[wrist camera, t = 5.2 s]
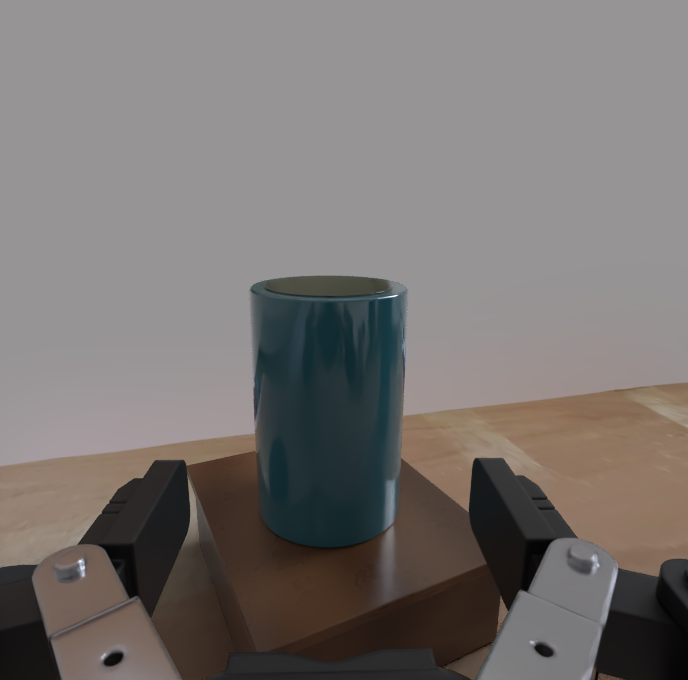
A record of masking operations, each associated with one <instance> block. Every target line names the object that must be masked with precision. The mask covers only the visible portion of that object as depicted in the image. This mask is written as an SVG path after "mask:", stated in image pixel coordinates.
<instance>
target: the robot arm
mask: <svg viewBox="0 0 688 680" xmlns="http://www.w3.org/2000/svg"><path fill="white" fill-rule="evenodd" d="M469 518H470V525H471V528H472V531H473V534H474V536H475V538H476V540H477V543H478V545H479V547H480V549H481V552H482V554H483V556H484V558H485V561H486V563H487V565H488V567H489V570H490V572H491V574H492V576H493V579H494V581H495V583H496V585H497V588H498V590H499V592H500V594H501V597H502V599H503V601H504V603H505V605H506V608H507V610H508V614H507V616H506V618H505V620H504V622H503V624H502V626H501V628H500V630H499V632H498V634H497V636H496V638H495V640H494V642H493V644H492V647H491V649H490V651H489V653H488V655H487V657H486V659H485V661H484V663H483V665H482V667H481V669H480V671H479V673H478V675H477V677H476V679H475V680H598V679H599V674H600V673H603V674H606V675H610V676H614V677H618V678H622V679H625V680H688V560H686V559H671V560H668V561H665V562H664V563H663V564H662V565H661V568H660V573H659V577H656V576H651V575H646V574H641V573H636V572H631V571H627V570H623V569H620V568H618V565H617V563H616V561H615V559H614V558H613V557H612V556H611V555H610V554H609V553H608V552H607V551H605V550H604V549H603V548H601V547H599V546H597V545H595V544H593V543H591V542H588V541H585V540H582V539H578V538H577V536H576V535H575V534H574V532H573V531H572V530H571V528H570V527H569V526H568V524H567V523H566V522H565V520H564V519H563V518H562V516H561V515H560V514H559V512H558V511H557V510H555V507H554V506H553V505H552V503H551V502H550V501H549V500H547V497H546V495H545V494H544V493H543V491H542V490H541V489H540V487H539V486H538V485H536V484H535V483H533V482H532V481H530V480H529V479H528V478H526V477H525V476H515V474H514V473H513V472H512V470H511V469H510V467H509V466H508V464H507V463H506V462H505V460H504V459H503V458H475V459H474V462H473V467H472V478H471V490H470V502H469ZM189 523H190V502H189V490H188V478H187V467H186V463H185V461H184V460H156V461H154V463H153V464H152V466H151V467H150V469H149V470H148V471H147V473H146V474H145V476H144V477H143V478H134V479H133V480H131V481H130V482H128V483H127V484H125V485H124V486H122V487H121V488H120V489H118V491H117V492H116V493H115V495H114V496H113V497H112V499H111V500H110V501H109V504H107V505H106V507H105V508H104V509H103V511H102V514H100V515H99V516H98V517H97V519H96V520H95V522H94V523H93V524H92V526H91V527H90V528H89V530H88V531H87V532H86V534H85V535H84V536H83V538H82V539H81V540H80V542H79V543H78V544H77V545H76V546H71V547H68V548H65V549H62V550H60V551H58V552H56V553H54V554H52V555H50V556H49V557H47V558H46V559H45V560H43V561H42V562H41V563H40V564H39V565H38V566H37V568H36V569H35V571H34V573H33V576H32V577H31V578H27V579H23V580H19V581H14V582H10V583H6V584H1V585H0V680H183V679H182V677H181V676H180V674H179V672H178V670H177V668H176V666H175V664H174V662H173V660H172V659H171V657H170V655H169V653H168V651H167V649H166V647H165V645H164V643H163V642H162V640H161V638H160V636H159V634H158V632H157V630H156V628H155V627H154V625H153V623H152V621H151V619H150V618H151V616H152V614H153V611H154V609H155V607H156V604H157V602H158V600H159V598H160V595H161V593H162V591H163V588H164V586H165V584H166V581H167V579H168V577H169V574H170V572H171V570H172V567H173V565H174V563H175V560H176V558H177V556H178V554H179V551H180V549H181V547H182V544H183V542H184V540H185V537H186V535H187V532H188V528H189ZM202 680H471V679H469V678H468V677H466V676H463V675H461V674H459V673H457V672H454V671H451V670H448V669H446V668H442V667H438V666H436V662H435V658H434V654H433V650H432V648H421V649H382V650H378V651H374V652H371V653H367V654H363V655H359V656H355V657H351V658H348V659H344V660H340V661H336V662H326V661H321V660H317V659H312V658H307V657H303V656H298V655H294V654H289V653H285V652H280V651H277V652H229V656H228V661H227V665H226V670H225V671H223V672H219V673H216V674H213V675H211V676H208V677H206V678H204V679H202Z"/></svg>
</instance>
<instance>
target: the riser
mask: <svg viewBox="0 0 688 680" xmlns="http://www.w3.org/2000/svg"><path fill="white" fill-rule="evenodd" d="M187 475H188V477H189V480H190V483H191V485H192V488H193V491H194V494H195V496H196V506H197V519H198V531H199V541H200V544H201V547H202V551H203V554H204V557H205V560H206V563H207V566H208V569H209V572H210V575H211V578H212V581H213V584H214V587H215V590H216V593H217V596H218V599H219V602H220V605H221V608H222V611H223V614H224V617H225V620H226V623H227V626H228V629H229V632H230V635H231V638H232V641H233V644H234V647H235V650H236V652H277V651H280V652H285V653H289V654H294V655H298V656H303V657H307V658H312V659H317V660H321V661H326V662H336V661H340V660H344V659H348V658H351V657H355V656H359V655H363V654H367V653H371V652H374V651H378V650H382V649H421V648H432V650H433V654H434V658H435V662H436V666H438V667H441V666H443V665H445V664H447V663H449V662H451V661H453V660H455V659H457V658H459V657H461V656H464V655H466V654H468V653H470V652H472V651H474V650H476V649H478V648H480V647H482V646H484V645H486V644H488V643H490V642H492V641H494V640H495V638H496V633H497V624H498V615H499V606H500V597H501V594H500V592H499V590H498V588H497V585H496V583H495V581H494V579H493V576H492V574H491V572H490V570H489V567H488V565H487V563H486V561H485V558H484V556H483V554H482V552H481V549H480V547H479V545H478V543H477V540H476V538H475V536H474V534H473V531H472V528H471V525H470V518H469V512H467V511H466V510H465V509H464V508H462V507H461V506H460V505H459V504H457V503H456V502H455V501H454V500H452V499H451V498H450V497H449V496H448V495H446V494H445V493H444V492H443V491H441V490H440V489H439V488H438V487H436V486H435V485H434V484H433V483H431V482H430V481H429V480H428V479H426V478H425V477H424V476H423V475H421V474H420V473H419V472H418V471H417V470H415V469H414V468H413V467H412V466H410V465H409V464H408V463H407V462H405V461H404V460H403V459H402V458H401V471H400V495H399V510H398V514H397V516H396V518H395V520H394V522H393V523H392V524H391V525H390V527H388V528H387V529H386V530H385V531H384V532H382V533H381V534H380V535H378V536H376V537H374V538H372V539H370V540H368V541H365V542H363V543H359V544H355V545H351V546H345V547H337V548H318V547H310V546H304V545H300V544H296V543H293V542H290V541H288V540H285V539H283V538H281V537H280V536H278V535H276V534H275V533H273V532H272V531H271V530H270V529H269V528H268V527H267V526H266V525H265V524H264V522H263V521H262V519H261V517H260V514H259V509H258V489H257V465H256V451H253V452H249V453H244V454H239V455H235V456H230V457H225V458H220V459H216V460H211V461H206V462H202V463H197V464H192V465H188V466H187Z"/></svg>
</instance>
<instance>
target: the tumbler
mask: <svg viewBox="0 0 688 680" xmlns="http://www.w3.org/2000/svg"><path fill="white" fill-rule="evenodd" d="M249 300H250V321H251V322H250V324H251V345H252V346H251V347H252V370H253V392H254V416H255V417H254V418H255V441H256V465H257V489H258V509H259V514H260V517H261V519H262V521H263V522H264V524H265V525H266V526H267V527H268V528H269V529H270V530H271V531H272V532H273V533H275V534H276V535H278V536H280V537H281V538H283V539H285V540H288V541H290V542H293V543H296V544H300V545H304V546H310V547H318V548H337V547H345V546H351V545H355V544H359V543H363V542H365V541H368V540H370V539H372V538H374V537H376V536H378V535H380V534H381V533H382V532H384V531H385V530H386V529H387V528H388V527H390V525H391V524H392V523H393V522H394V520H395V518H396V516H397V514H398V510H399V495H400V471H401V448H402V424H403V400H404V377H405V353H406V329H407V328H406V327H407V306H408V289H407V287H406V286H404V285H403V284H400V283H397V282H394V281H389V280H383V279H377V278H368V277H354V276H300V277H287V278H279V279H271V280H267V281H262V282H259V283H256V284H254V285H252V286H251V287H250V289H249Z"/></svg>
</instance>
